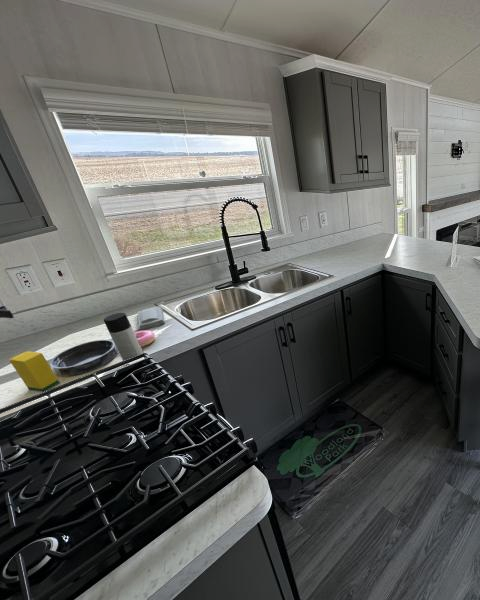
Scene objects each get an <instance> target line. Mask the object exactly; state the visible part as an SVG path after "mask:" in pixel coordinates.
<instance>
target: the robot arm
mask: <svg viewBox="0 0 480 600" xmlns="http://www.w3.org/2000/svg"><path fill="white" fill-rule="evenodd" d="M0 318H4V319H14V318H15V316H14V315H13V313H12V312H11V310H8V307H7V306H6V305H0Z"/></svg>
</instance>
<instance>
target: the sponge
mask: <svg viewBox="0 0 480 600" xmlns="http://www.w3.org/2000/svg"><path fill="white" fill-rule="evenodd" d="M8 361H9V362H10V364H11V365H12V367H13V368H14V370H15V371H16V373H17V374H18V376H19V377H20V379H21V380H22V382H23V383H24V385H25V386H26V387H27V389H28V390H29V391H34V392H40V393H45V392H47V391H50V389H52V388H54V387H55V386H57V385H59V384H61V382H60V381H59V379H58V377H57V375H56V374H55V373H54V371H53V370H52V368H51V366H50V363H49V362H48V361H47V359H46V357H45V356H44V355H43V353H42V352H37V351H29V350H26V351H24V352H22V353H20V354H17V355H15V356H13V357H11V358H8ZM46 390H47V391H46ZM44 391H45V392H44Z"/></svg>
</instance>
